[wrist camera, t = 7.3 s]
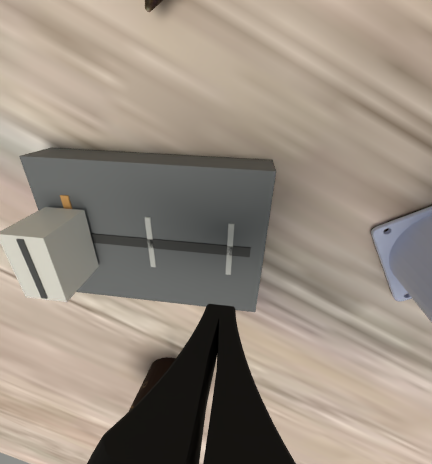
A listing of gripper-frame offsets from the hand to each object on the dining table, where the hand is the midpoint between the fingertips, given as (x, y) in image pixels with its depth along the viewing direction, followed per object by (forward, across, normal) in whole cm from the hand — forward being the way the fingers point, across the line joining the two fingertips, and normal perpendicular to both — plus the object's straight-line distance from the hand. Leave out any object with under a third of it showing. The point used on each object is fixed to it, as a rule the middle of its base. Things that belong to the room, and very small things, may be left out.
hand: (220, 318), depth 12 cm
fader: (+6, +12, 0) cm, 13 cm away
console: (+9, +6, 0) cm, 11 cm away
